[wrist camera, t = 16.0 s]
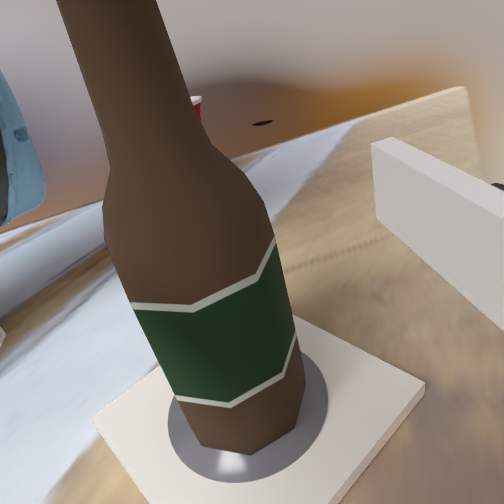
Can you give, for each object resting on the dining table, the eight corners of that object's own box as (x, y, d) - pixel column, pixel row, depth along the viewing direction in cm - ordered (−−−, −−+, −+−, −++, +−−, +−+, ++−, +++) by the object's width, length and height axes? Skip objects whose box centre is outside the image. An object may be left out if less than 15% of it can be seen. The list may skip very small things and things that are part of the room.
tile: (95, 427, 28) (88, 417, 27) (256, 303, 35) (253, 292, 35) (237, 630, 17) (231, 620, 17) (424, 393, 25) (424, 380, 24)
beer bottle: (188, 366, 29) (10, -44, 17) (298, 342, 29) (199, -97, 16) (181, 475, 23) (-126, -71, 10) (322, 446, 22) (187, -160, 10)
